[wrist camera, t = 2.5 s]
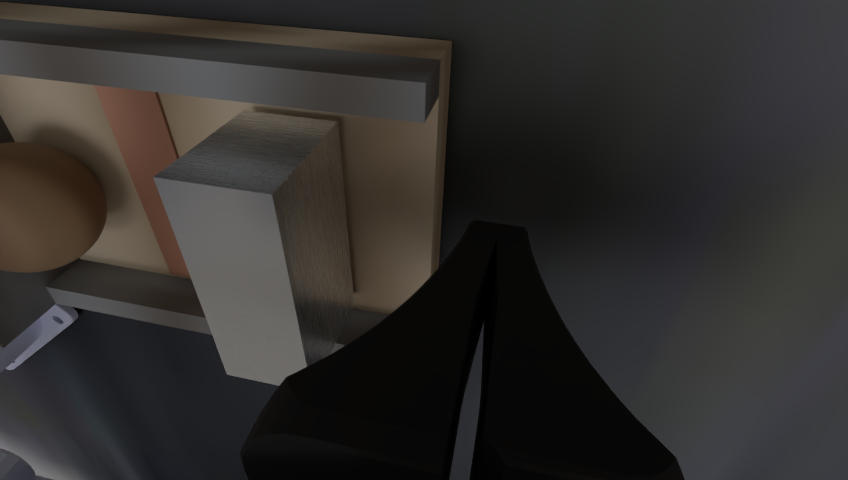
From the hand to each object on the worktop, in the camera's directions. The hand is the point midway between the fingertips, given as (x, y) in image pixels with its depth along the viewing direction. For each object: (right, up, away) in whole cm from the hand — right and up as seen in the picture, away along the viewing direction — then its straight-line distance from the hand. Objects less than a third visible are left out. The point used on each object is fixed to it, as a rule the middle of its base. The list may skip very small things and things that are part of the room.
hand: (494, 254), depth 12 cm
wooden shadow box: (-9, +3, +3) cm, 9 cm away
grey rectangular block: (-5, +1, +1) cm, 5 cm away
